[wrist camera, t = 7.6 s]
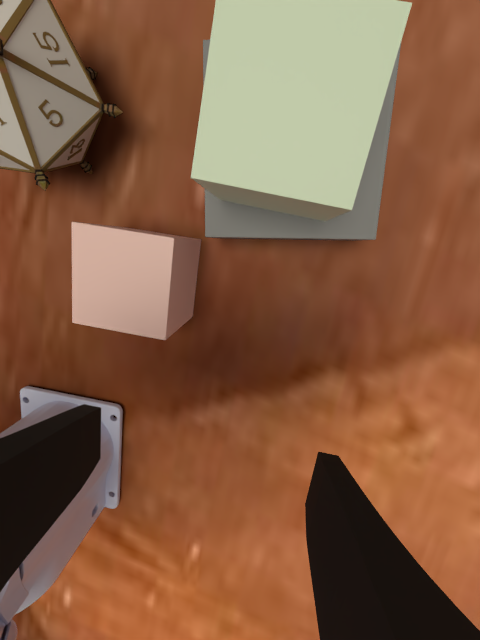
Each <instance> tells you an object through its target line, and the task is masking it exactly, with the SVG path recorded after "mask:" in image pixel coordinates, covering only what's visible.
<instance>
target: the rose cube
mask: <svg viewBox="0 0 480 640" xmlns="http://www.w3.org/2000/svg"><path fill="white" fill-rule="evenodd" d="M200 246H201V239H196V238H189V237H183V236H177V235H171V234H164V233H158V232H152V231H145V230H139V229H133V228H126V227H118V226H108V225H98V224H89V223H79V222H72V323H77V324H82V325H87V326H92V327H98V328H103V329H108V330H114V331H119V332H124V333H129V334H135V335H140V336H145V337H151V338H156V339H161V340H166V339H167V338H169V337H170V336H171V335H172V334H173V333H174V332H176V331H177V330H178V329H179V328H180V327H181V326H183V325H184V324H185V323H186V322H187V321H188V320H189V319H191V318H192V317H193V309H194V300H195V291H196V282H197V273H198V264H199V255H200Z"/></svg>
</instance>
